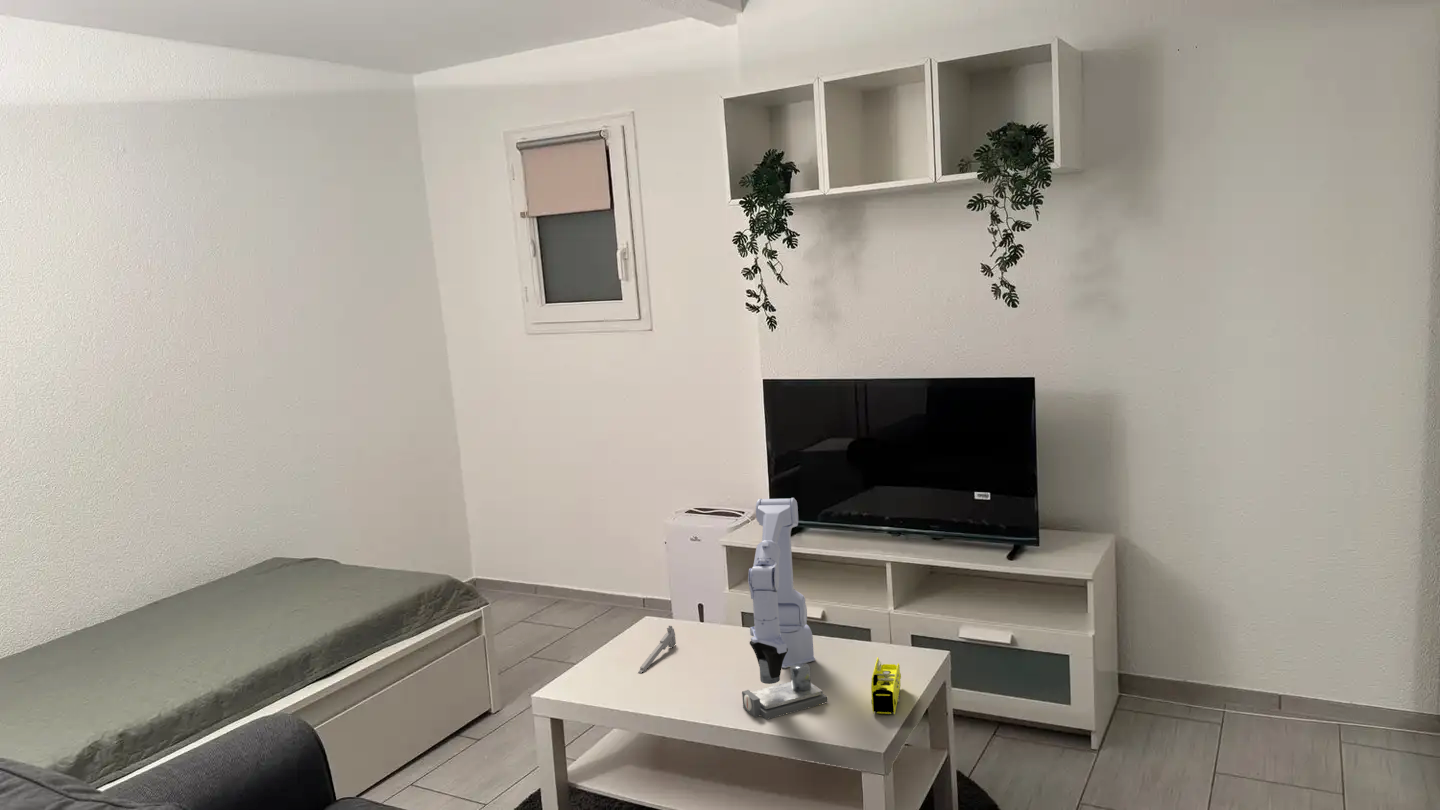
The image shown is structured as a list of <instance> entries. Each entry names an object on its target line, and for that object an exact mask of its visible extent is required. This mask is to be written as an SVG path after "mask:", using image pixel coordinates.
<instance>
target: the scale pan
mask: <svg viewBox="0 0 1440 810" xmlns="http://www.w3.org/2000/svg"><path fill="white" fill-rule="evenodd" d="M751 692H752V693H753V694H754V695H756V696H757V697H758V698H760V706H762V707H763V708H764V709H765V710H766V709H770V708H773V707H777V706H781V705H784V704H788V703H792V702H796V701H799V700H803V699H807V698H811V697H814V696H818V695H822V694H824V691H823V690H822V689H821V688H819V687H818V686H817V685H815V684H814V683H812V682H811V688H810V689H808V690H804V691H796V690H793V689H792V683H791V681H788V682H784V683H780V684H777V685H776V684H775V685H772V686H768V687H764V688H761V689H757V690H753V691H751Z"/></svg>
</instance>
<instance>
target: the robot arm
mask: <svg viewBox="0 0 1440 810" xmlns="http://www.w3.org/2000/svg"><path fill="white" fill-rule="evenodd" d="M798 509H799V507H798V502H797V500H796V499H795V497H791V498H758V500H757V501H756V502H755V518H756V522H758V525H759V526H761V527H762V537H761V538H762V539H761V542H759V543H758V544H757V545H756V549H755V552H754V553H755V554H754V561H753V566H752V567H750V568H749V569H748V573H747V574H748V576H747V582H748V587H749V591H750V592H749V593H750V599H751V600H752V609H753V621H754V626H749V633H750V636H751V637H750V641H749V645H750V646H751V648H752V650H753V652H754V654H755V658H756V660H757V663H758V666H759V659H760V658H761V657H763V656H765V657H766V660H767V663H768V668H769V674H770V677H771V678H772V679H773V678H777V677H780V678H781V672H782V669H787V668H790V666H791V665H793V664H797V663H805V664H808V663H810V662H811V663H812V662H814V661H816V658H815V653H814V639H813V638H814V636H813V633H812V629H811V627H810V626H809V625H808V624H807V621H808V610H807V609H808V608H807V603H806V597H805V595H804V594H802V593H801V592H799V591H798V590H796V589H795V588H794V571H793V555H792V554H793V553H792V538H791V534H792V529H793V528H795V527H798V526H799V511H798ZM759 668H760V666H759Z"/></svg>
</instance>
